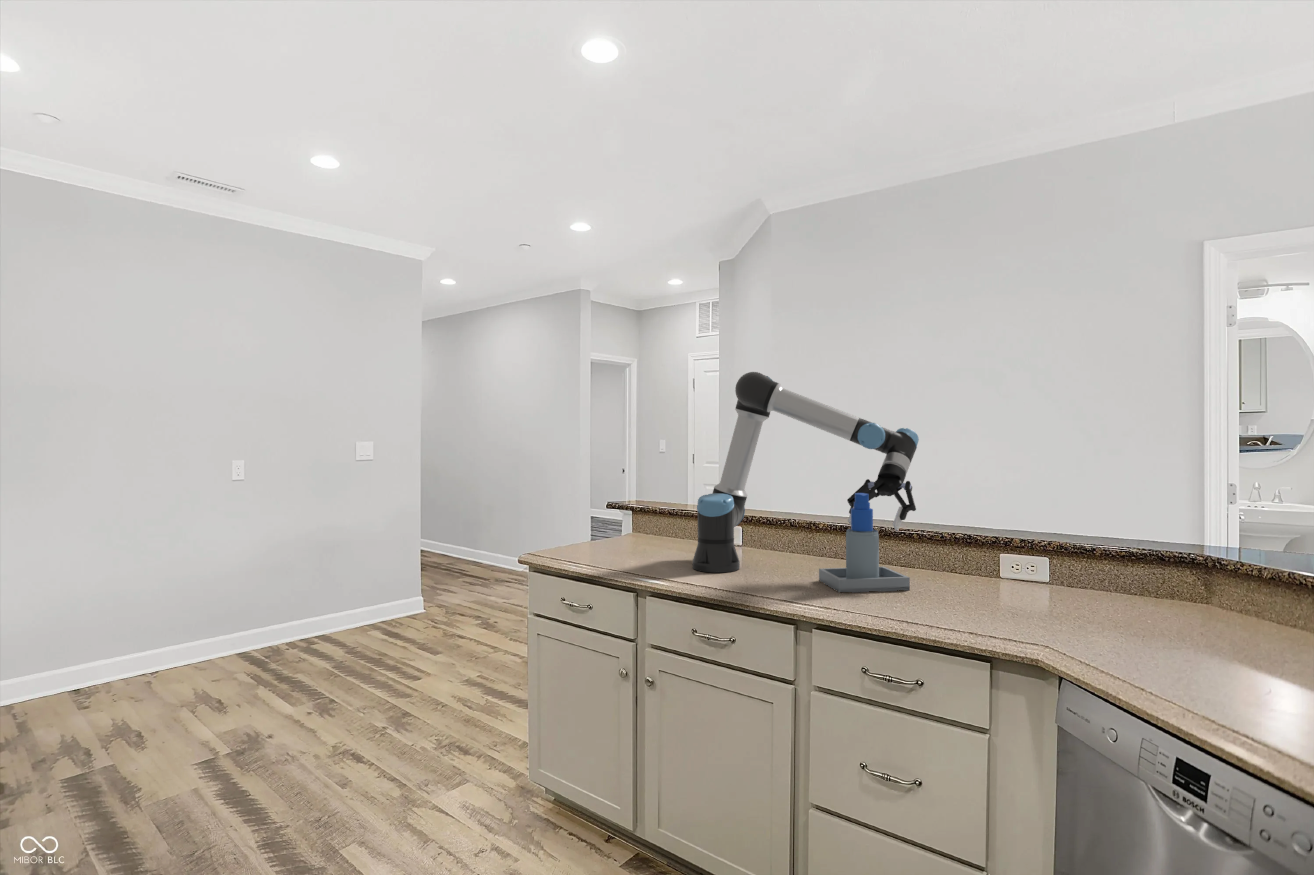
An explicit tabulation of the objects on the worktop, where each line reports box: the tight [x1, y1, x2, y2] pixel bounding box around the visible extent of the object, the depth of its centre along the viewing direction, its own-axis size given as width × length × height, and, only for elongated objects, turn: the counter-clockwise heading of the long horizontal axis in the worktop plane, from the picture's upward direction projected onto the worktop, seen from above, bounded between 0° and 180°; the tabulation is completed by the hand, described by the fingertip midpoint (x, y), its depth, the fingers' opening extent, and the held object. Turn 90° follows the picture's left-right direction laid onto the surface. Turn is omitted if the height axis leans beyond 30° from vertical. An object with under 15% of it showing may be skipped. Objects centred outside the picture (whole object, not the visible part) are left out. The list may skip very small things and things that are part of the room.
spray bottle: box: [845, 492, 880, 579], centre depth 183 cm, size 9×9×25 cm
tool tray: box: [818, 566, 911, 593], centre depth 183 cm, size 15×20×4 cm
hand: (872, 525), depth 187 cm, fingers open, 13 cm apart
